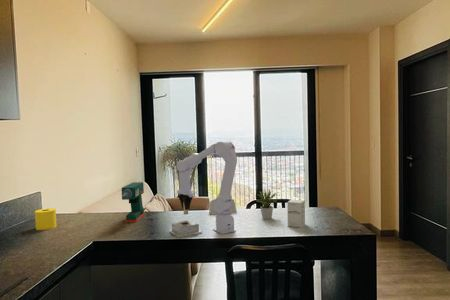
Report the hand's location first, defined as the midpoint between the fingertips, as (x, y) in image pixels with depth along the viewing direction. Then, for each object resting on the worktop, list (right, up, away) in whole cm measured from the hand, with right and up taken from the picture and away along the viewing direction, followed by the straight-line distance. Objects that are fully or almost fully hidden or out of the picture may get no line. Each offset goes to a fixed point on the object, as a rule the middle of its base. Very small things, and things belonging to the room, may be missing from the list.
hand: (185, 209), depth 181 cm
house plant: (+44, -8, +12) cm, 47 cm away
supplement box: (+57, -8, -4) cm, 58 cm away
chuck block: (+1, -10, -11) cm, 14 cm away
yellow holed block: (-77, -12, +8) cm, 78 cm away
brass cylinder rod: (0, -3, 0) cm, 2 cm away
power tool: (-32, -10, +16) cm, 37 cm away
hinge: (+19, -8, +31) cm, 37 cm away
